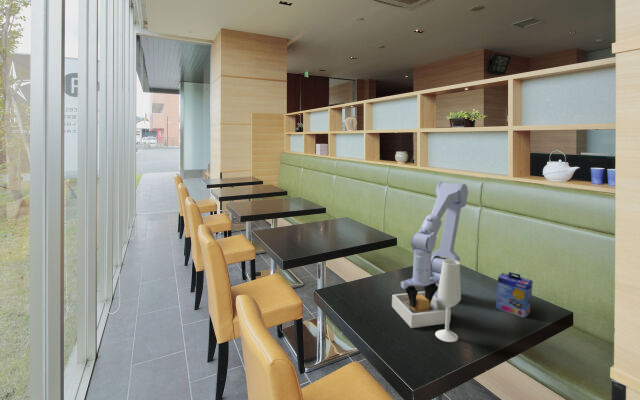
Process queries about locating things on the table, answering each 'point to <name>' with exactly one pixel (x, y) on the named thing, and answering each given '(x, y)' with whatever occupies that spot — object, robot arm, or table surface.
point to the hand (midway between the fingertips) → (420, 305)
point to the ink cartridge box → (514, 294)
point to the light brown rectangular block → (421, 303)
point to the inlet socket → (431, 308)
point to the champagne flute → (449, 295)
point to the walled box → (419, 318)
